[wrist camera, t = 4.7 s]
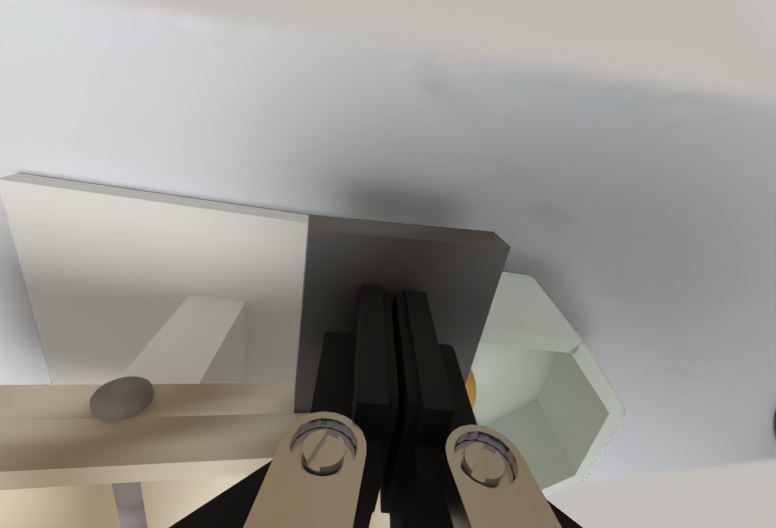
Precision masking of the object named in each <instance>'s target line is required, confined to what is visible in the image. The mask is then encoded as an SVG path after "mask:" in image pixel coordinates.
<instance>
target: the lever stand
mask: <svg viewBox="0 0 776 528" xmlns="http://www.w3.org/2000/svg"><path fill="white" fill-rule="evenodd" d="M0 192H1V196H2V200H3V203H4V207H5V211H6V215H7V218H8V222H9V226H10V230H11V233H12V237H13V241H14V244H15V248H16V252H17V256H18V259H19V263H20V267H21V271H22V274H23V278H24V282H25V285H26V289H27V293H28V297H29V300H30V304H31V308H32V311H33V315H34V319H35V323H36V326H37V330H38V334H39V338H40V341H41V345H42V349H43V352H44V356H45V360H46V364H47V367H48V371H49V375H50V379H51V382H52V385H98V384H106V383H108V382H110V381H112V380H115V379H118V378H122V377H129V376H136V377H142V378H145V379H147V380H148V381H150V383H151V384H225V383H295V379H296V367H297V355H298V342H299V330H300V317H301V305H302V293H303V280H304V268H305V255H306V243H307V230H308V218H309V215H305V214H298V213H292V212H285V211H278V210H271V209H264V208H257V207H250V206H243V205H236V204H229V203H222V202H215V201H208V200H201V199H195V198H188V197H181V196H174V195H167V194H160V193H153V192H146V191H139V190H132V189H125V188H118V187H111V186H104V185H98V184H91V183H84V182H77V181H70V180H63V179H56V178H49V177H42V176H35V175H28V174H21V173H17V174H14V175H10V176H6V177H3V178H0Z"/></svg>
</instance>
